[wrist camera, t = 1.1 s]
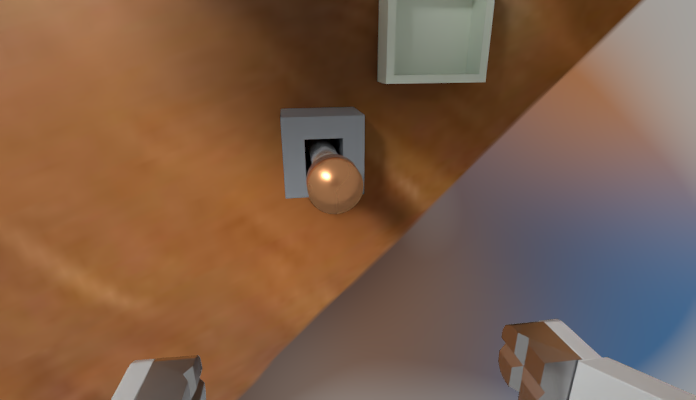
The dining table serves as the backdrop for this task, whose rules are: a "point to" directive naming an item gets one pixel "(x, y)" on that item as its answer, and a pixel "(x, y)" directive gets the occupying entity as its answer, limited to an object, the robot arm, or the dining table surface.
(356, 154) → the pin block
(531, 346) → the robot arm
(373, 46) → the dining table surface
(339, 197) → the pin
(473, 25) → the tray
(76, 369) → the dining table surface
